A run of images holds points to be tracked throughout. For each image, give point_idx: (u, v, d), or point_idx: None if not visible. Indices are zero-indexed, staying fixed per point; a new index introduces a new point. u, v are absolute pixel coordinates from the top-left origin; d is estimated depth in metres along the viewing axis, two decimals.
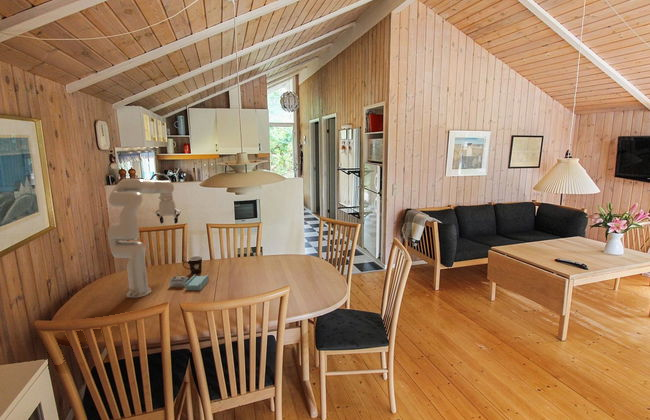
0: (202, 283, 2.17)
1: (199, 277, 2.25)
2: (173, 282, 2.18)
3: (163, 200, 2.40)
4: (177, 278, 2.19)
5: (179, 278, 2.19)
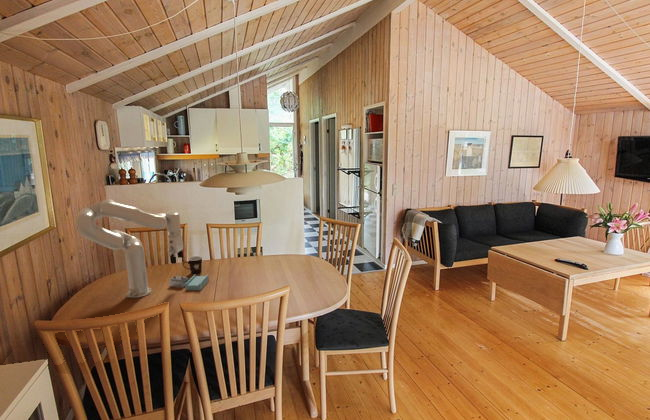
0: (202, 283, 2.17)
1: (199, 277, 2.25)
2: (172, 281, 2.18)
3: (180, 234, 2.14)
4: (177, 278, 2.19)
5: (179, 278, 2.19)
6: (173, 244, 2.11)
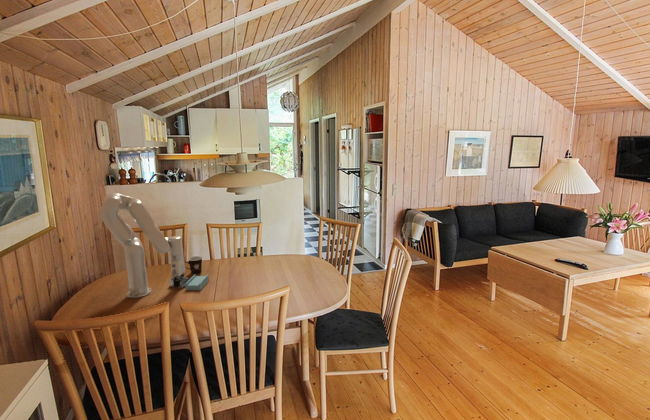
0: (202, 283, 2.17)
1: (199, 277, 2.25)
2: (172, 281, 2.19)
3: (182, 257, 2.17)
4: None
5: (178, 278, 2.19)
6: (175, 268, 2.14)
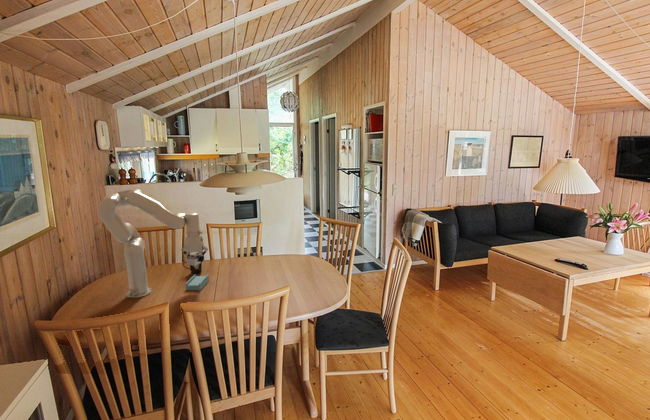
0: (202, 283, 2.17)
1: (199, 277, 2.25)
2: (197, 259, 2.14)
3: None
4: (196, 255, 2.16)
5: (197, 254, 2.17)
6: (202, 241, 2.16)
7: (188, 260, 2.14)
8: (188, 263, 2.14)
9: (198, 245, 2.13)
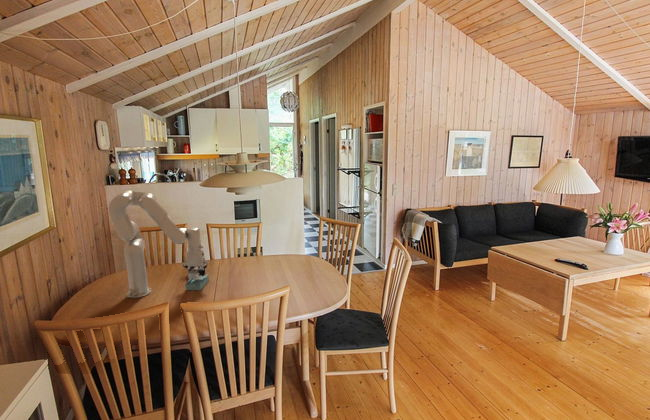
0: (202, 283, 2.17)
1: None
2: (198, 273, 2.16)
3: None
4: (197, 269, 2.18)
5: (198, 268, 2.19)
6: None
7: (190, 274, 2.16)
8: (190, 277, 2.16)
9: (199, 259, 2.15)
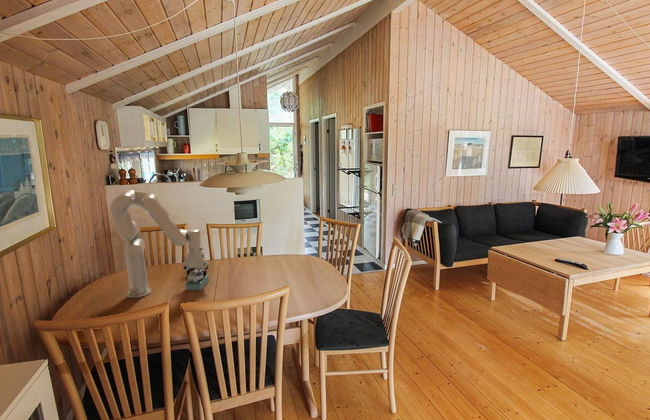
0: (202, 283, 2.17)
1: None
2: (198, 275, 2.17)
3: None
4: (197, 271, 2.19)
5: (198, 271, 2.20)
6: (204, 257, 2.18)
7: (189, 277, 2.16)
8: (189, 280, 2.16)
9: (199, 261, 2.15)
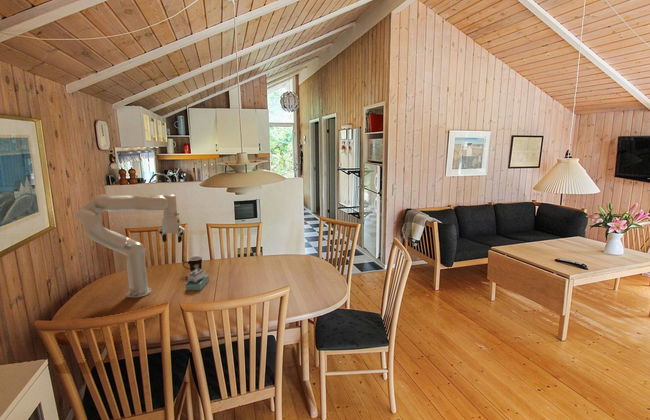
0: (202, 283, 2.17)
1: None
2: (198, 275, 2.17)
3: None
4: (197, 271, 2.19)
5: (198, 271, 2.20)
6: (179, 223, 2.20)
7: (189, 277, 2.16)
8: (189, 280, 2.16)
9: (174, 226, 2.17)
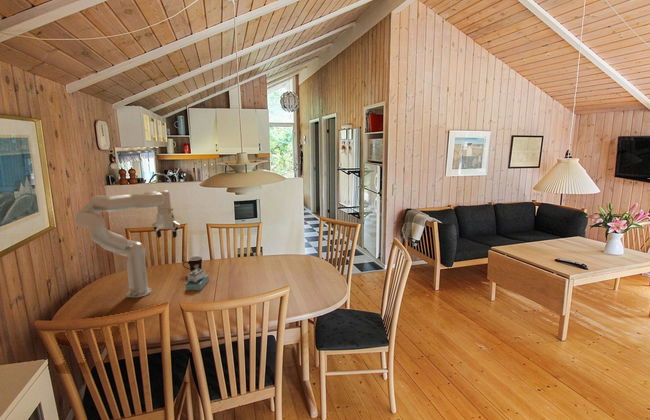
0: (202, 283, 2.17)
1: None
2: (198, 275, 2.17)
3: None
4: (197, 271, 2.19)
5: (198, 271, 2.20)
6: (174, 218, 2.22)
7: (189, 277, 2.16)
8: (189, 280, 2.16)
9: (169, 221, 2.19)
